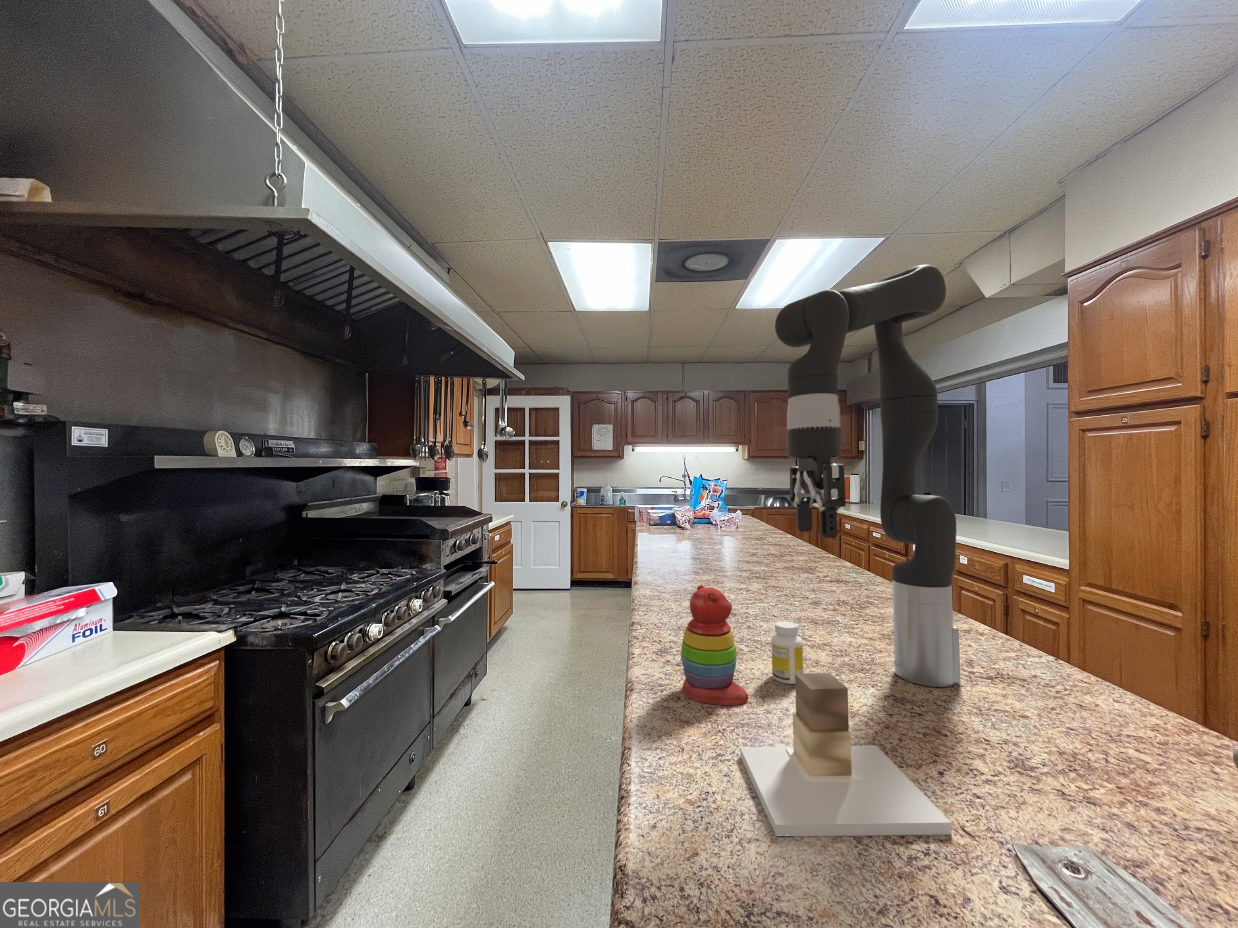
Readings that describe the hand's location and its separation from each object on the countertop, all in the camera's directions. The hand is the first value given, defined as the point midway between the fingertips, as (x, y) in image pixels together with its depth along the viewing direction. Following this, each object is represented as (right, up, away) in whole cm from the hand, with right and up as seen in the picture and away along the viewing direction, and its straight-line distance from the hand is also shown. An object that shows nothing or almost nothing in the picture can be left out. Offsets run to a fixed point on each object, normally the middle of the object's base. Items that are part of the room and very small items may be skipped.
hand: (815, 534), depth 71 cm
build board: (-5, -28, -16) cm, 32 cm away
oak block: (-5, -26, -13) cm, 30 cm away
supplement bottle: (+1, -29, +15) cm, 33 cm away
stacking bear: (-14, -29, +10) cm, 33 cm away
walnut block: (-5, -21, -13) cm, 25 cm away
